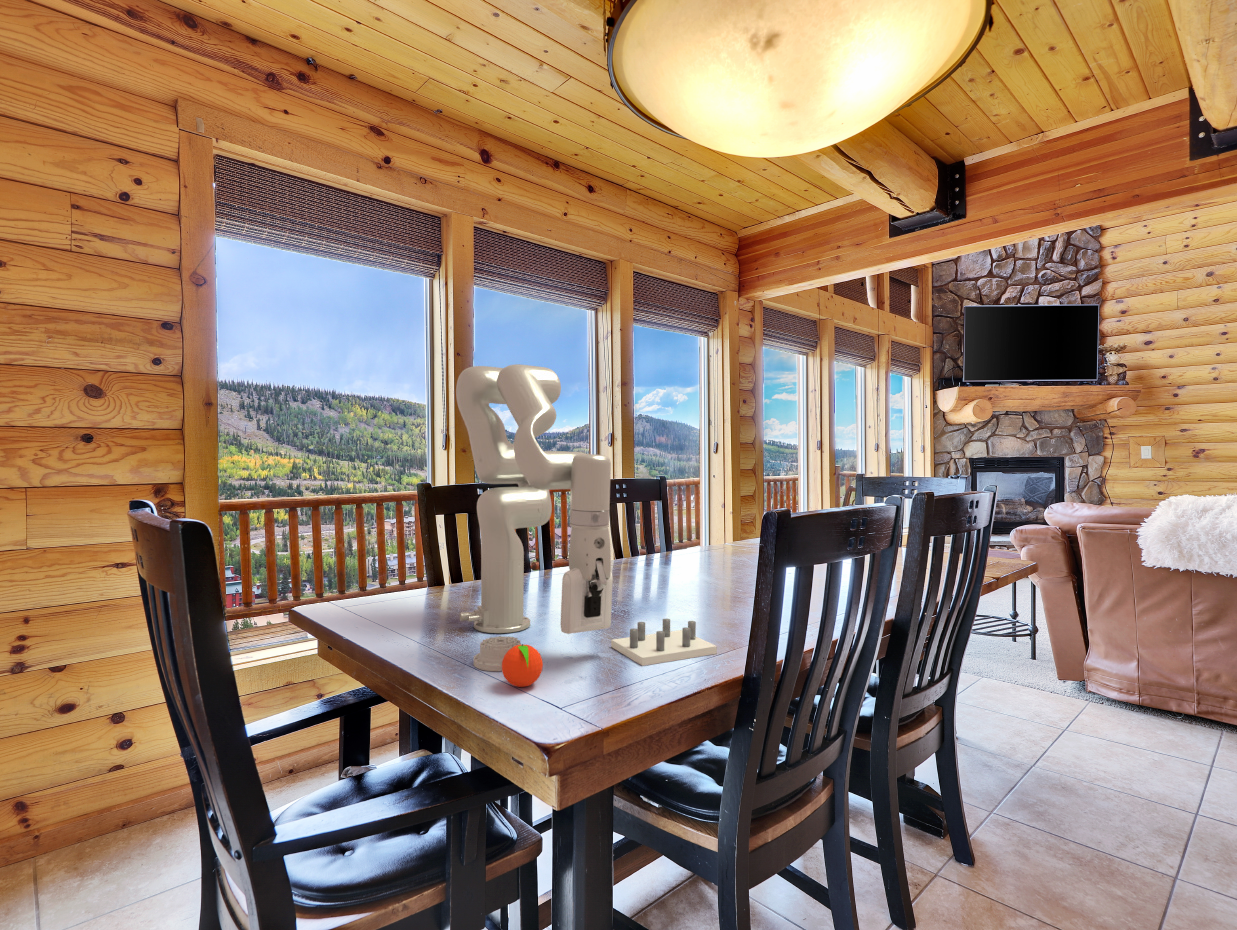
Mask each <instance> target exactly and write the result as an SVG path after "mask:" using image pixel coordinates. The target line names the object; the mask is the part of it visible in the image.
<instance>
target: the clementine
mask: <svg viewBox="0 0 1237 930" xmlns="http://www.w3.org/2000/svg"><path fill="white" fill-rule="evenodd" d="M543 664H544V662H543V659H542V656H541V654H540V652H539V651H538V649H536V648H535V647H533V646H532V645H530V644H523V643H521V645H516V646H514V647H513V648H511V649H510V650H509V651H508V652H507V653H506V654H505V656H504V658H503V661H502V671H501V672H502V674H503V677H504V679H505V680H506V681H507V682H508V683H509V684H510V685H512V686H514V687H518V688H524V687H529V686H531V685H532V684H534V683H535V682H536V681H537V680H538V679H539V678H540V676H541V674H542V672H543V667H544V665H543Z"/></svg>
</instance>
